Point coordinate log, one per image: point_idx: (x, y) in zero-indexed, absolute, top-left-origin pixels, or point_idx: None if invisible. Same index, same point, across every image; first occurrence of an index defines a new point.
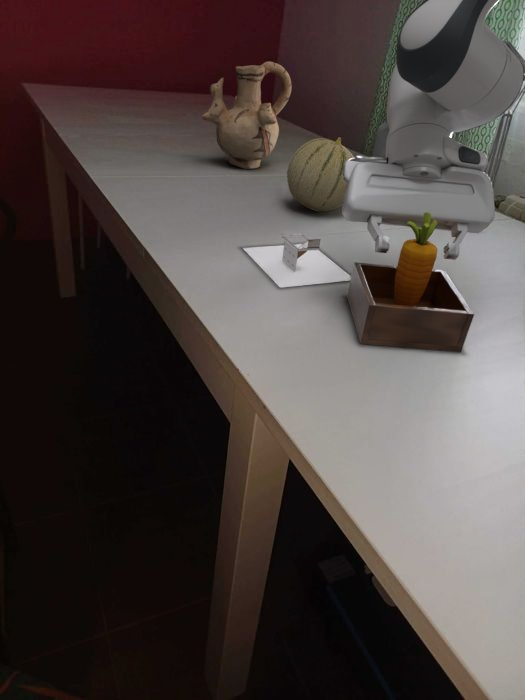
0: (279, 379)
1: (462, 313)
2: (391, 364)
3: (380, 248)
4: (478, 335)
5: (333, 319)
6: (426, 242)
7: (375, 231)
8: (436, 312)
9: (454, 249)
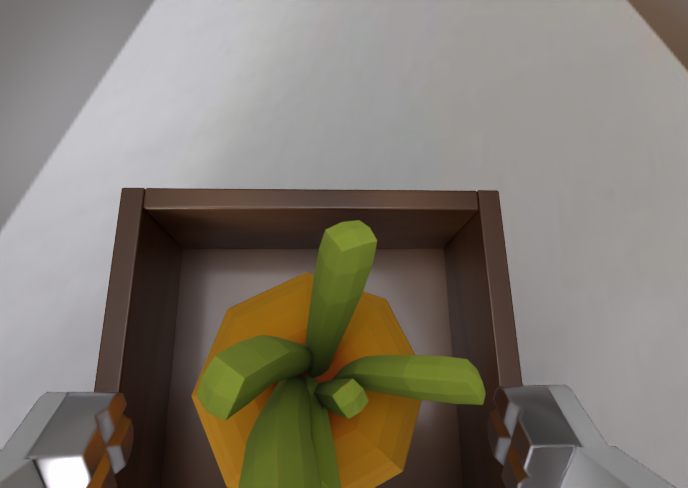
0: (629, 79)
1: (166, 188)
2: (383, 158)
3: (547, 386)
4: (64, 349)
5: (528, 367)
6: (276, 384)
7: (649, 475)
8: (261, 189)
9: (62, 413)
